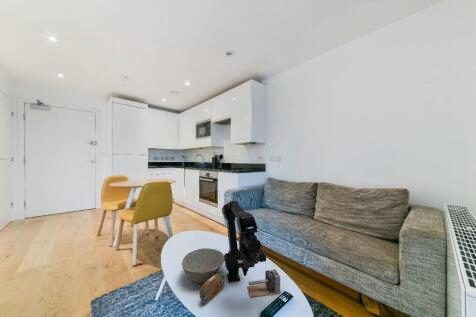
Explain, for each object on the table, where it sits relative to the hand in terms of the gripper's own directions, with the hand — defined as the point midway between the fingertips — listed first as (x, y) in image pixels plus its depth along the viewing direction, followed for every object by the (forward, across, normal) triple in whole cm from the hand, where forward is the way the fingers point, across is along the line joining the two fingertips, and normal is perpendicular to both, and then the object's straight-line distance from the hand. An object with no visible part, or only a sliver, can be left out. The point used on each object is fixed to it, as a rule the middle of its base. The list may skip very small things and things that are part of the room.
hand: (244, 275), depth 85 cm
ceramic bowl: (+12, -18, +20) cm, 30 cm away
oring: (+11, +14, +4) cm, 18 cm away
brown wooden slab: (+12, -14, +6) cm, 20 cm away
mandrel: (+12, +11, +4) cm, 17 cm away
